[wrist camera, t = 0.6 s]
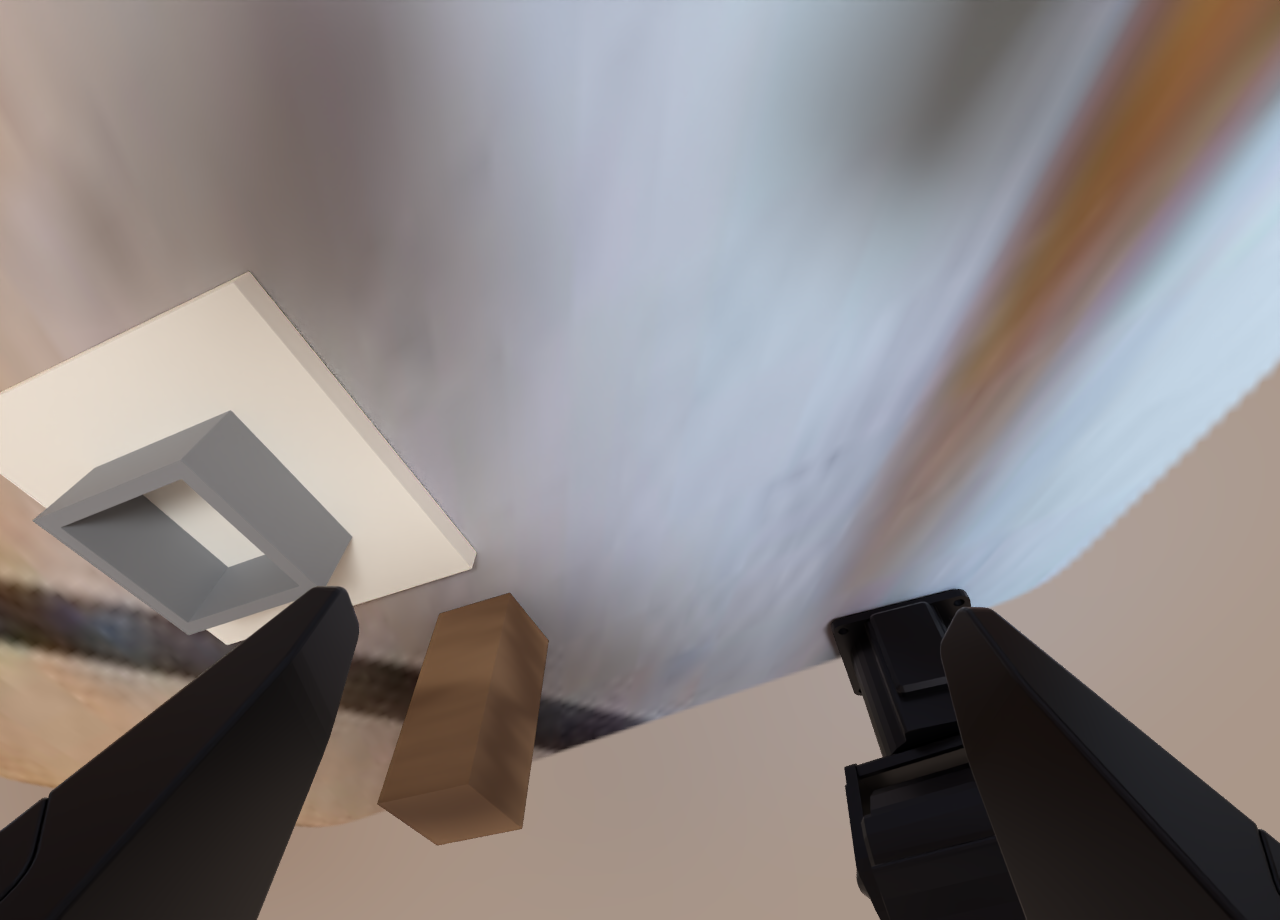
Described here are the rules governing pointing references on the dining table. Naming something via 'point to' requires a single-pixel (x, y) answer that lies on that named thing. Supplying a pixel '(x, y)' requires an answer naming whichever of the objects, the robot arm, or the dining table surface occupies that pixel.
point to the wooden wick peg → (470, 725)
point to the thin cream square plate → (221, 469)
